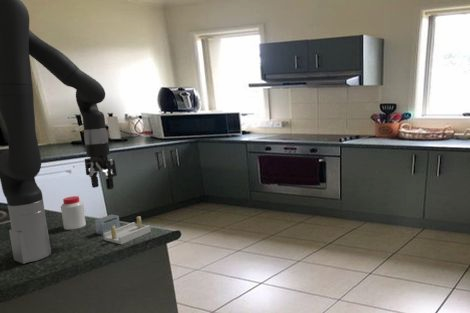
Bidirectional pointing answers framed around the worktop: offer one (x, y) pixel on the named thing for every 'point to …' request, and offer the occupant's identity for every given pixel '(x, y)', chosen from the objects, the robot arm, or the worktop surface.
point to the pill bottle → (73, 213)
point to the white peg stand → (126, 232)
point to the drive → (106, 223)
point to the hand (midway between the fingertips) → (102, 188)
